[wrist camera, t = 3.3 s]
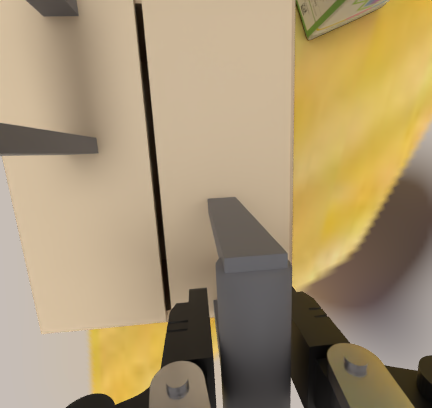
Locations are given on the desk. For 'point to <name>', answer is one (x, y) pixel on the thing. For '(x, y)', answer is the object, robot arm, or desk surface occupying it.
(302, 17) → the ink box
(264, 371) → the flap
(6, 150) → the flap
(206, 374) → the robot arm
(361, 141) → the desk surface
